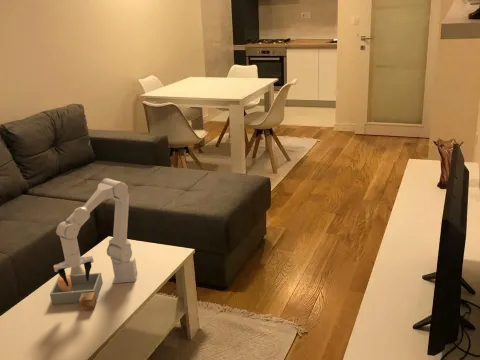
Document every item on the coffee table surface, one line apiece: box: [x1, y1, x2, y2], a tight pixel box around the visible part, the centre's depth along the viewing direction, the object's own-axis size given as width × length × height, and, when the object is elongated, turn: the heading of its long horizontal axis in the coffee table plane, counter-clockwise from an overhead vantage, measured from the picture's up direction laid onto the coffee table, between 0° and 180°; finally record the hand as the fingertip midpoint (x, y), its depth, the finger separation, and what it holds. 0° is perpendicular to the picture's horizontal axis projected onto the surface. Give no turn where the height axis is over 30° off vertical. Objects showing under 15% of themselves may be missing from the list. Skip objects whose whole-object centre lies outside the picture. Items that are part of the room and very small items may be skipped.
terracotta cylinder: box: [56, 274, 73, 292], centre depth 211 cm, size 5×5×7 cm
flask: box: [69, 265, 85, 275], centre depth 222 cm, size 7×7×10 cm
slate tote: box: [49, 272, 104, 306], centre depth 212 cm, size 17×13×5 cm
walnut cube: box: [78, 292, 97, 312], centre depth 203 cm, size 5×5×5 cm
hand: (77, 282), depth 203 cm, fingers open, 7 cm apart
